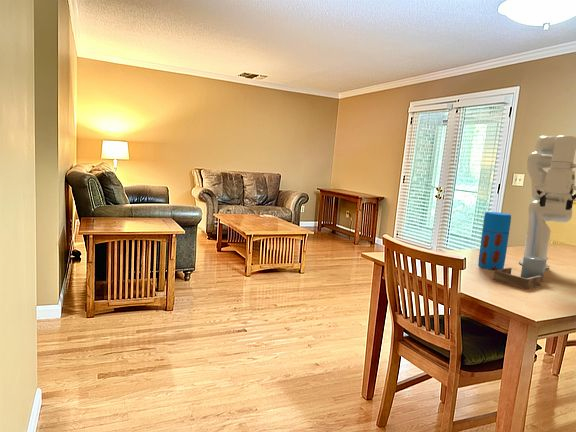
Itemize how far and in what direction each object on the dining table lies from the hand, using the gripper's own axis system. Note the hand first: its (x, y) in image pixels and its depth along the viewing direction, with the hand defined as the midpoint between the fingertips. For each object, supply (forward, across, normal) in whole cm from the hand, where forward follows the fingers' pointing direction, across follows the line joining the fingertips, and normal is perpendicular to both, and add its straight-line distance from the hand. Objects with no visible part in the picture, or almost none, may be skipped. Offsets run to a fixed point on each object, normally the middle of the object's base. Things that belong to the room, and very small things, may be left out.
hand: (554, 208), depth 170 cm
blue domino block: (+31, +21, +4) cm, 37 cm away
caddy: (+30, +2, +18) cm, 36 cm away
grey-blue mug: (+30, +2, +4) cm, 31 cm away
